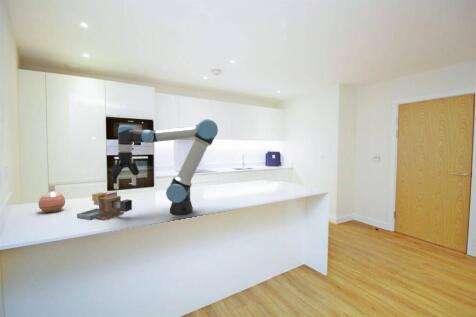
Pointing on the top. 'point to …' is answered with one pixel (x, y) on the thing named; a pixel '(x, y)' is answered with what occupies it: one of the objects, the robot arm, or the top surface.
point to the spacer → (98, 196)
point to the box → (111, 193)
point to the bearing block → (108, 207)
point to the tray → (89, 214)
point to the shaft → (120, 205)
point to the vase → (51, 200)
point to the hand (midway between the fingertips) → (125, 187)
